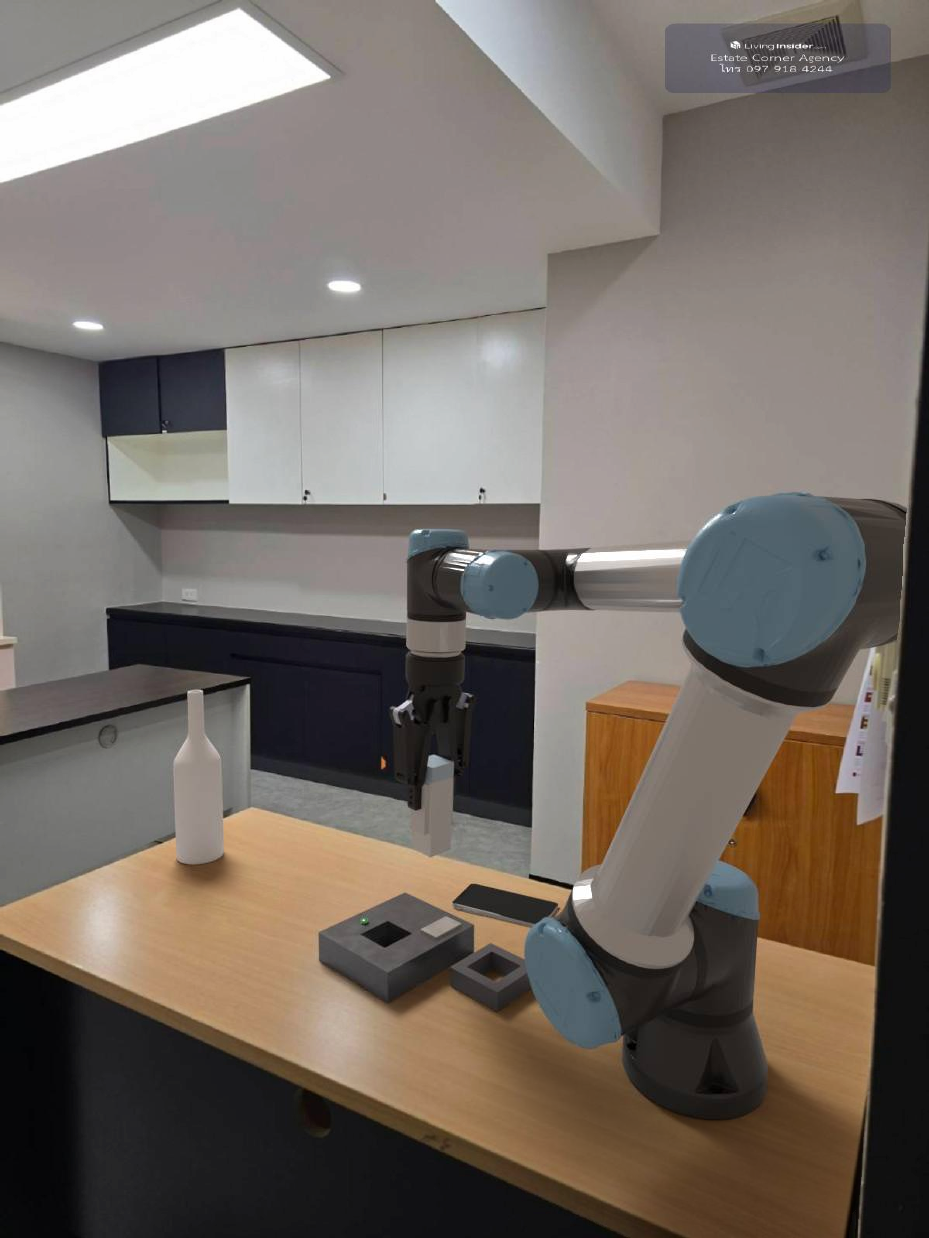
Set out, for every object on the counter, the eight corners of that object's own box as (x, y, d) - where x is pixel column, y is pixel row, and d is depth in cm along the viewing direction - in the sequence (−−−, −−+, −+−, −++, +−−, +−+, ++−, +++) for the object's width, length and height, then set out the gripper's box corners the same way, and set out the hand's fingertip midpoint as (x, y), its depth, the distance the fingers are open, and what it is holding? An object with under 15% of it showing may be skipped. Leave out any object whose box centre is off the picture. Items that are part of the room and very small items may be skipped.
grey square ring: (537, 983, 99) (537, 965, 99) (497, 1011, 94) (497, 992, 93) (490, 960, 105) (490, 942, 104) (449, 985, 99) (449, 966, 99)
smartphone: (542, 925, 113) (450, 903, 119) (541, 933, 113) (450, 910, 119) (559, 902, 120) (472, 882, 126) (559, 909, 120) (472, 889, 127)
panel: (473, 951, 107) (474, 921, 106) (387, 1002, 95) (387, 969, 95) (405, 917, 116) (405, 889, 116) (318, 959, 104) (318, 929, 104)
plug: (451, 849, 101) (453, 761, 99) (430, 857, 98) (432, 768, 97) (431, 840, 104) (433, 754, 102) (410, 848, 101) (412, 760, 99)
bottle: (233, 854, 138) (228, 690, 135) (193, 869, 132) (187, 698, 129) (207, 842, 143) (202, 684, 140) (167, 856, 137) (161, 691, 134)
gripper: (460, 640, 106) (456, 802, 109) (365, 654, 94) (363, 835, 97) (501, 648, 101) (495, 818, 104) (405, 664, 89) (401, 855, 92)
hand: (431, 826), depth 101 cm, fingers closed on plug, 4 cm apart
